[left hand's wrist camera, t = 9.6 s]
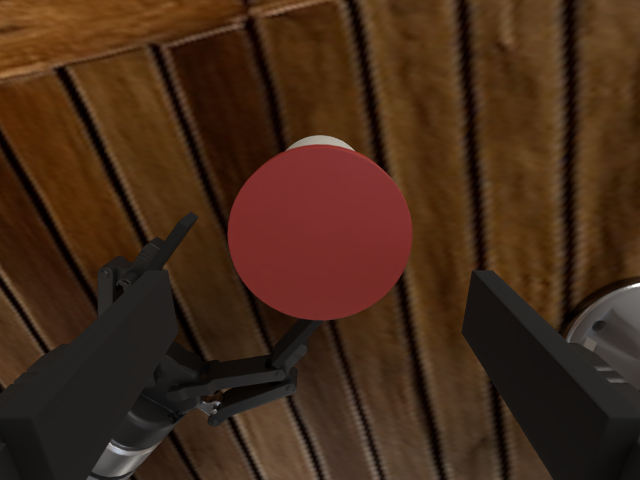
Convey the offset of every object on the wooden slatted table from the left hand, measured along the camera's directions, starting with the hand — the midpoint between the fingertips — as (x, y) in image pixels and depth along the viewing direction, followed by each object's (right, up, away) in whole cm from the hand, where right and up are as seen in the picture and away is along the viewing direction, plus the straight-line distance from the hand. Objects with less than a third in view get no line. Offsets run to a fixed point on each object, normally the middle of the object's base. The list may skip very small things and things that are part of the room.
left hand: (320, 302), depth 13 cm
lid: (0, +2, +6) cm, 7 cm away
